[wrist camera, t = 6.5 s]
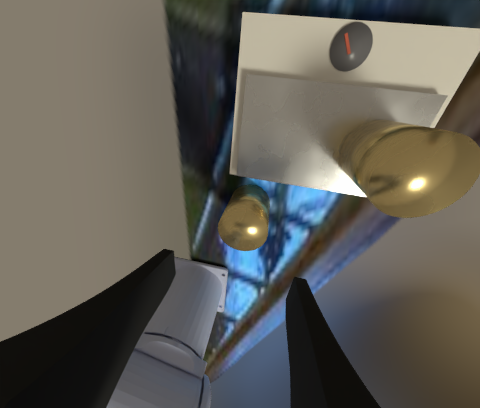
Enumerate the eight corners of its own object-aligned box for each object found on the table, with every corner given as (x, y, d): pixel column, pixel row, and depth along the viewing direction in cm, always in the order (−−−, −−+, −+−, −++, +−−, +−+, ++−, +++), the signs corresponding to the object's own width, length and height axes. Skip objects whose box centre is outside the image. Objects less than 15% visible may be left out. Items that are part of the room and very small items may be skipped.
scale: (379, 190, 16) (392, 201, 14) (234, 167, 17) (229, 174, 15) (458, 41, 11) (495, 28, 9) (247, 24, 12) (242, 10, 11)
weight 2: (385, 185, 13) (436, 226, 9) (329, 173, 14) (352, 206, 9) (422, 126, 11) (511, 142, 7) (355, 113, 11) (401, 122, 7)
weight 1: (266, 221, 20) (262, 254, 15) (229, 215, 20) (216, 245, 16) (273, 188, 18) (272, 215, 13) (232, 181, 18) (219, 205, 14)
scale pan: (383, 196, 14) (387, 200, 14) (237, 173, 15) (236, 175, 15) (439, 95, 11) (447, 95, 10) (247, 75, 12) (246, 73, 12)
